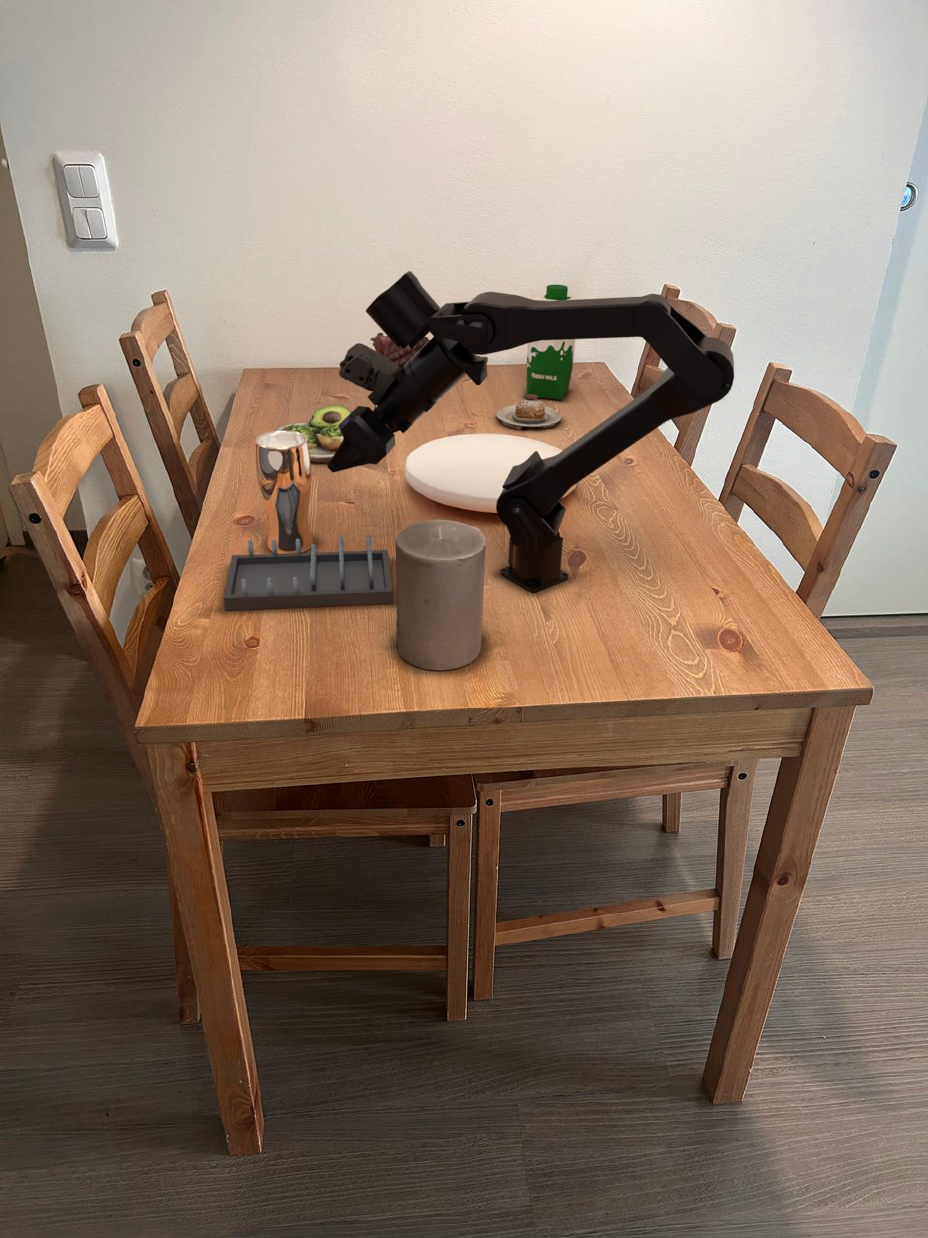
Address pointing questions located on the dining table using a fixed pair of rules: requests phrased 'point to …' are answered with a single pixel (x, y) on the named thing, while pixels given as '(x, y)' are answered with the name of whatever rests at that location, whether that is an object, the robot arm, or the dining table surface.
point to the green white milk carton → (550, 357)
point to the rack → (308, 578)
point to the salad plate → (322, 432)
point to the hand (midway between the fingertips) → (343, 455)
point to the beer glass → (285, 488)
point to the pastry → (528, 414)
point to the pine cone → (396, 349)
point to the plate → (470, 468)
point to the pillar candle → (439, 593)
